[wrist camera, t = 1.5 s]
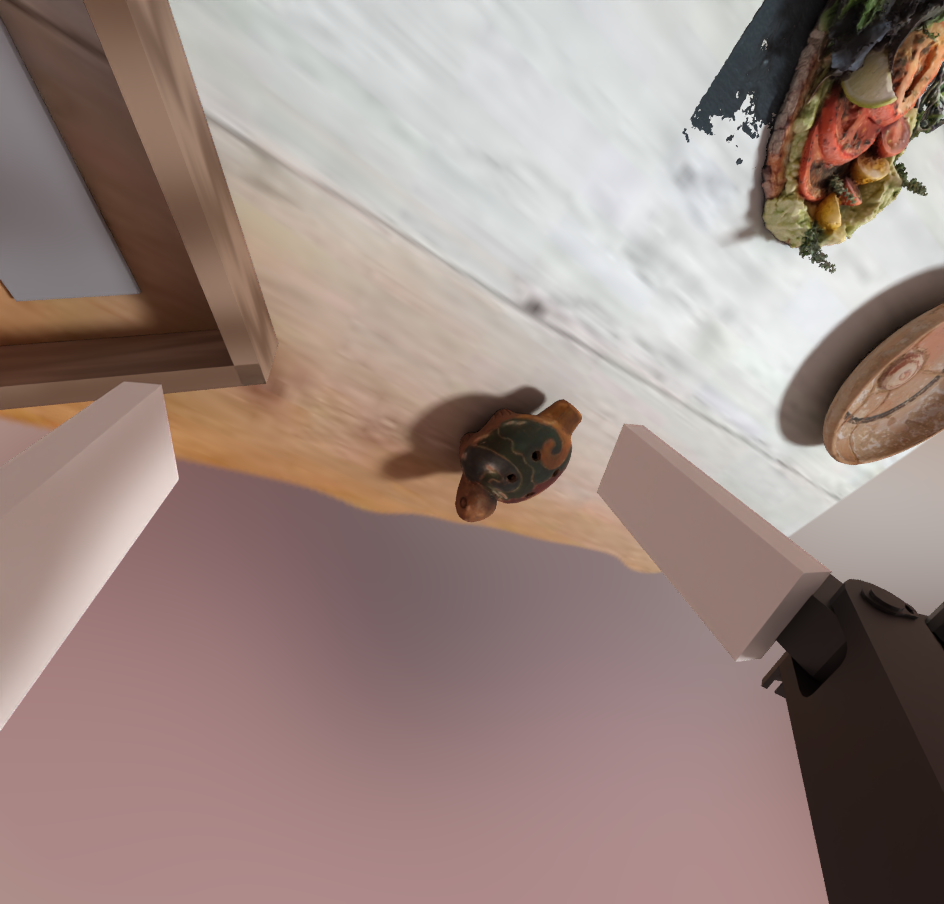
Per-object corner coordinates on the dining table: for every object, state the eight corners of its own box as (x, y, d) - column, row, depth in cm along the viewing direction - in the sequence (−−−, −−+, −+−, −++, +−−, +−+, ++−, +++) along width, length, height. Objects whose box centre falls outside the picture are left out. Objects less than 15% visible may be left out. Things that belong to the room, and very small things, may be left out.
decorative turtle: (419, 458, 42) (431, 511, 36) (528, 355, 39) (563, 394, 32) (479, 499, 48) (498, 551, 42) (580, 413, 44) (618, 455, 38)
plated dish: (775, 344, 44) (835, 377, 39) (581, 220, 32) (627, 243, 26) (1210, -122, 27) (1430, -182, 21) (1148, -786, 15) (1629, -1332, 9)
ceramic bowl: (767, 409, 50) (800, 434, 46) (978, 223, 39) (1043, 236, 35) (838, 462, 61) (870, 485, 58) (1017, 329, 51) (1069, 347, 47)
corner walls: (-413, -105, 15) (-722, -188, 11) (147, -63, 19) (84, -113, 14) (-10, 368, 28) (-76, 417, 24) (278, 344, 32) (266, 383, 27)
